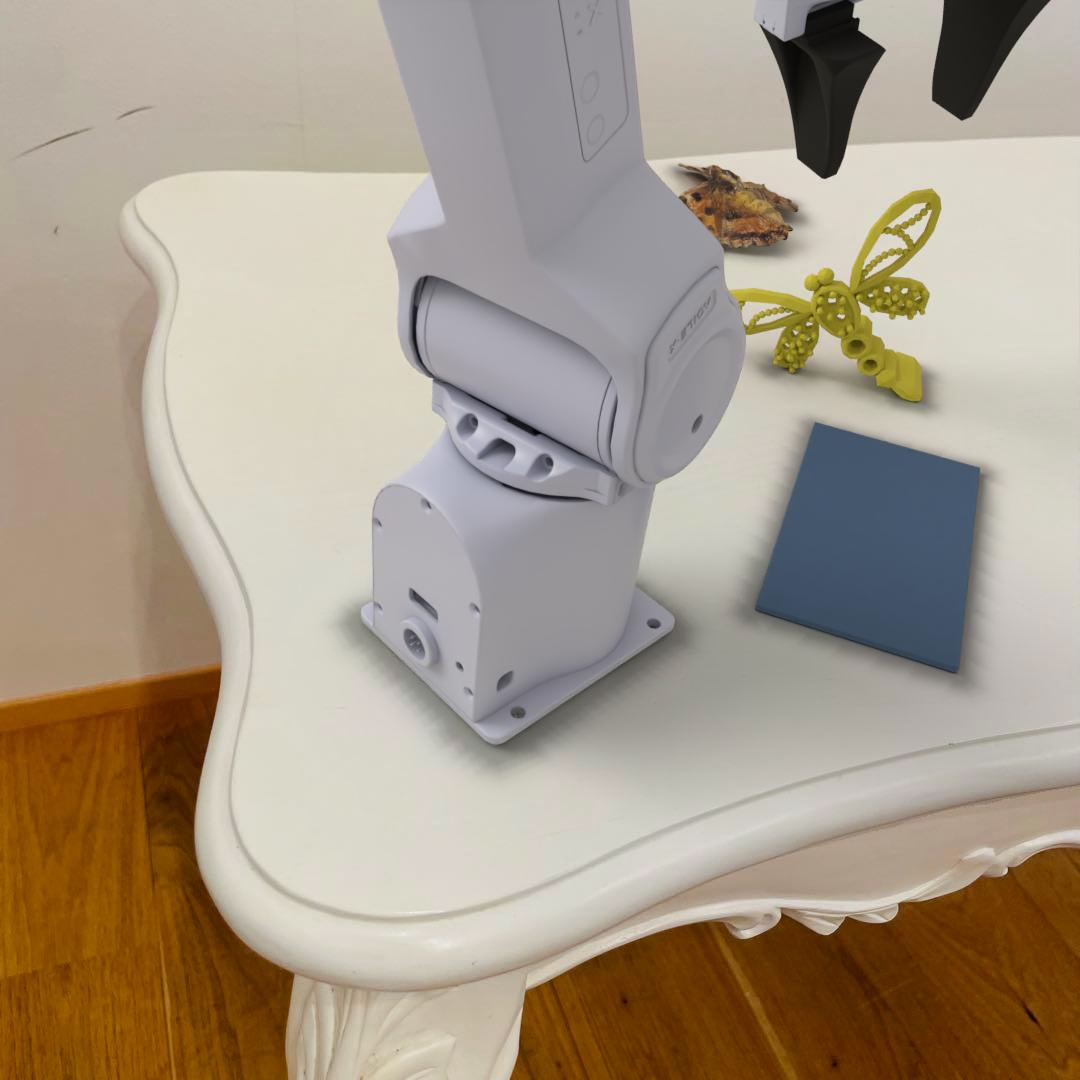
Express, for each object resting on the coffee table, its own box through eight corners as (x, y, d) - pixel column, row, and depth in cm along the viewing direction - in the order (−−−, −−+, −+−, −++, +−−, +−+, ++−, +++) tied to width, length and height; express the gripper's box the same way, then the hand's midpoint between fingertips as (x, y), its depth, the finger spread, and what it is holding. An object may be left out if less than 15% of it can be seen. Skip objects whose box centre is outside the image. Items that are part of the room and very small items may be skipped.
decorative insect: (781, 459, 61) (686, 314, 56) (785, 426, 63) (695, 286, 59) (1019, 363, 54) (932, 190, 50) (1015, 330, 56) (931, 163, 52)
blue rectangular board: (956, 673, 42) (959, 668, 42) (754, 609, 44) (756, 604, 44) (978, 472, 53) (980, 467, 52) (813, 426, 54) (815, 421, 54)
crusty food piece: (644, 243, 67) (652, 195, 65) (677, 167, 76) (685, 124, 74) (784, 272, 66) (797, 225, 64) (801, 192, 75) (813, 148, 73)
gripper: (1031, -289, 43) (951, 46, 53) (718, -188, 39) (700, 147, 50) (1177, -234, 39) (1058, 115, 50) (843, -117, 35) (794, 229, 46)
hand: (885, 136), depth 50 cm, fingers open, 7 cm apart
